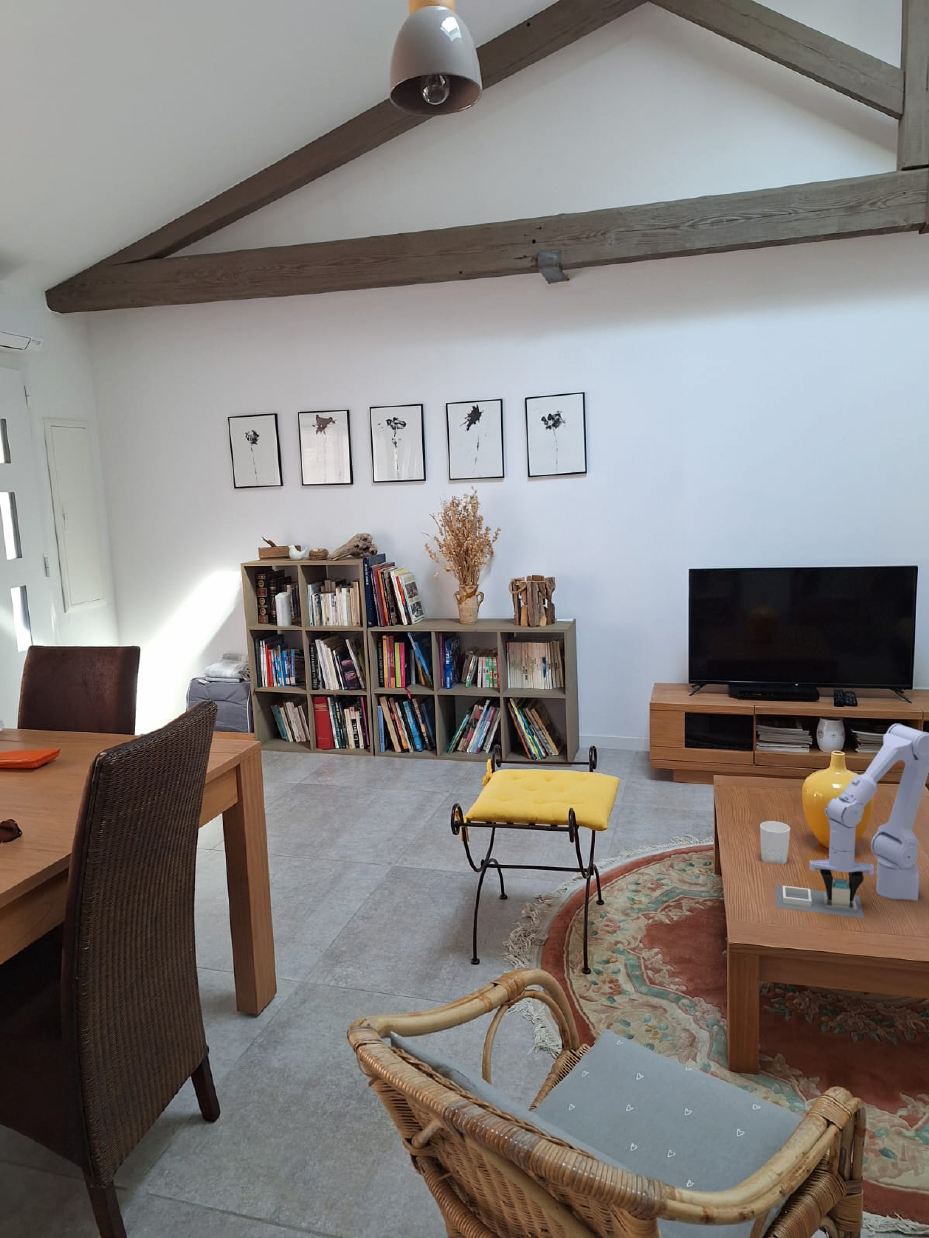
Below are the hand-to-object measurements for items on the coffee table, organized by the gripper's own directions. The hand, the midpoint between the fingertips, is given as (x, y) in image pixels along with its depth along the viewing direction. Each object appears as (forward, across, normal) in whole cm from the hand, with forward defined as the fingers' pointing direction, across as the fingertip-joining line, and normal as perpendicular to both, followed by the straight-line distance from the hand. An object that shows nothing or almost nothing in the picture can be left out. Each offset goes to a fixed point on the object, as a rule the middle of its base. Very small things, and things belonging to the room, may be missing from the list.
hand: (839, 898), depth 210 cm
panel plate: (+2, +5, -1) cm, 6 cm away
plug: (+1, 0, 0) cm, 1 cm away
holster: (+1, 0, 0) cm, 1 cm away
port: (+2, +10, -1) cm, 10 cm away
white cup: (+3, +12, -26) cm, 28 cm away
